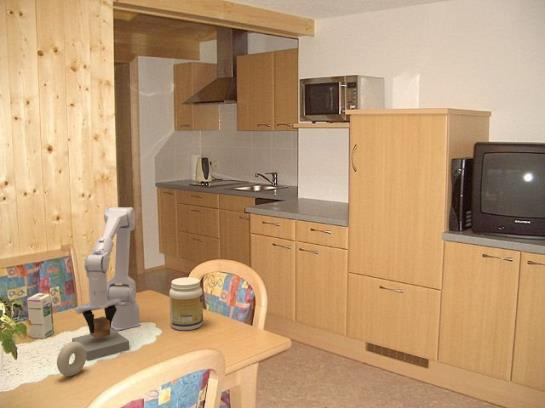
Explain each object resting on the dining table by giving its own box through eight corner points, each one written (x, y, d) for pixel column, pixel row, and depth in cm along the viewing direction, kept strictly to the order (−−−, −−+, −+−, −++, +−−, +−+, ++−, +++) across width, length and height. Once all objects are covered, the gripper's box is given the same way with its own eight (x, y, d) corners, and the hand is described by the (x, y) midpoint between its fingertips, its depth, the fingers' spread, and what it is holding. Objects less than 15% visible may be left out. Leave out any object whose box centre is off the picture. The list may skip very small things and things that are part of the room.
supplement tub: (207, 328, 202) (207, 283, 199) (175, 333, 196) (174, 287, 194) (197, 317, 213) (196, 274, 210) (166, 322, 207) (164, 278, 205)
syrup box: (44, 339, 191) (42, 298, 189) (29, 337, 193) (26, 297, 190) (54, 332, 197) (51, 293, 195) (39, 331, 198) (36, 292, 196)
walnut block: (104, 330, 186) (103, 316, 186) (110, 334, 183) (109, 320, 182) (89, 334, 183) (89, 319, 183) (95, 338, 179) (94, 323, 179)
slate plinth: (112, 336, 193) (112, 328, 193) (129, 349, 182) (129, 340, 182) (72, 346, 185) (72, 338, 184) (87, 360, 174) (87, 351, 173)
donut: (81, 367, 169) (80, 336, 168) (89, 369, 168) (88, 338, 166) (55, 380, 160) (53, 347, 159) (63, 382, 159) (61, 349, 157)
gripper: (80, 297, 173) (82, 339, 175) (124, 289, 182) (125, 328, 184) (72, 292, 179) (74, 332, 180) (115, 284, 188) (117, 322, 189)
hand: (100, 330), depth 183 cm, fingers closed on walnut block, 5 cm apart
